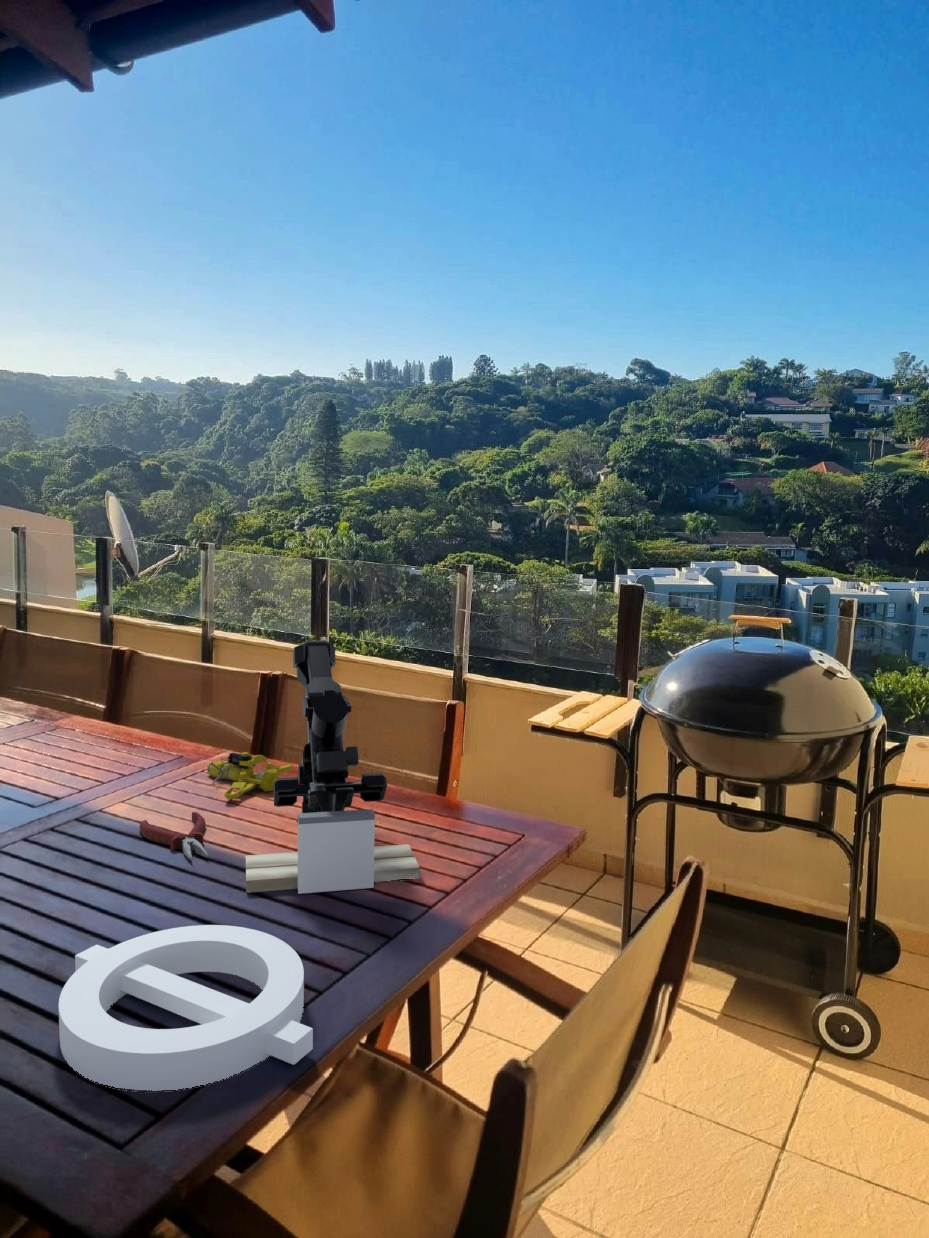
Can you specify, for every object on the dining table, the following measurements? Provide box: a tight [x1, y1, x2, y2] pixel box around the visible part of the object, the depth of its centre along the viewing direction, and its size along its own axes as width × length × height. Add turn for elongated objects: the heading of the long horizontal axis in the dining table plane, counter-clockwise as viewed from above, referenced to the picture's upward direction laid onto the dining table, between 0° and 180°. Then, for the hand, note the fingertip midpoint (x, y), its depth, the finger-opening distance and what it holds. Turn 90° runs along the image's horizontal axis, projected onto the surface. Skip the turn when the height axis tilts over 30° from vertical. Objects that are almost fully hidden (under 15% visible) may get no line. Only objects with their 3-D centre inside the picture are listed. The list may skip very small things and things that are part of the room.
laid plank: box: [245, 843, 421, 894], centre depth 148 cm, size 10×28×2 cm, turn 104°
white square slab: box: [297, 808, 376, 895], centre depth 141 cm, size 2×12×12 cm, turn 104°
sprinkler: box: [206, 751, 293, 800], centre depth 190 cm, size 19×8×20 cm
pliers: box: [139, 811, 210, 862], centre depth 159 cm, size 12×20×3 cm, turn 33°
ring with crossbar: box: [58, 924, 314, 1091], centre depth 107 cm, size 28×28×5 cm
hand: (333, 836), depth 145 cm, fingers closed
